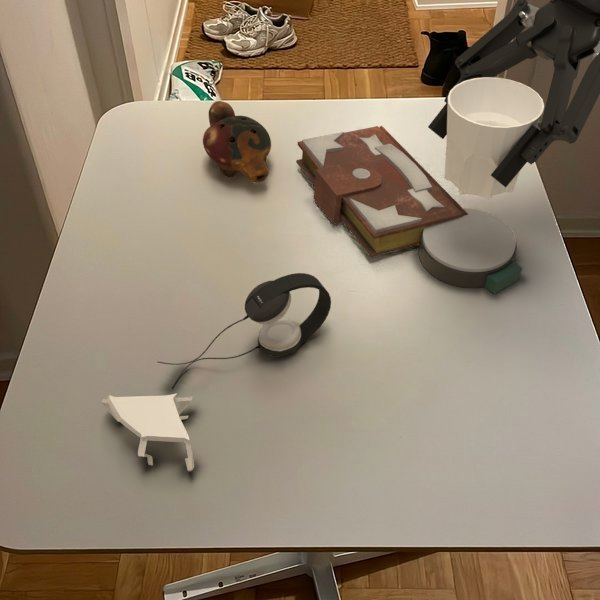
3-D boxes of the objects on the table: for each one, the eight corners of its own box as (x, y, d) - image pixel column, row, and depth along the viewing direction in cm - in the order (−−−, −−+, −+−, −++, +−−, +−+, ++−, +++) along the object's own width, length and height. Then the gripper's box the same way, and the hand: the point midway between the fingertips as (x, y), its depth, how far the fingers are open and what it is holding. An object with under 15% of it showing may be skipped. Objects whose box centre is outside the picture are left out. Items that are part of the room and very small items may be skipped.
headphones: (173, 390, 84) (322, 305, 88) (188, 417, 82) (341, 329, 85) (144, 341, 77) (308, 251, 80) (159, 370, 74) (329, 275, 78)
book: (464, 237, 99) (472, 207, 96) (363, 264, 94) (368, 233, 90) (381, 148, 114) (385, 119, 110) (289, 167, 109) (291, 137, 105)
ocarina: (239, 132, 116) (239, 87, 110) (292, 185, 108) (295, 139, 102) (184, 150, 112) (181, 104, 106) (235, 206, 104) (235, 160, 98)
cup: (447, 145, 90) (458, 71, 83) (530, 160, 88) (549, 85, 81) (428, 193, 84) (439, 117, 77) (517, 211, 81) (537, 134, 74)
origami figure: (221, 416, 79) (216, 388, 75) (193, 483, 73) (187, 457, 70) (118, 393, 81) (109, 365, 77) (83, 457, 75) (71, 430, 72)
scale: (539, 267, 94) (545, 248, 91) (471, 307, 89) (475, 289, 87) (466, 213, 101) (469, 196, 99) (399, 249, 96) (401, 231, 94)
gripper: (707, 43, 72) (550, 222, 78) (542, -36, 85) (420, 122, 91) (690, 3, 66) (522, 199, 72) (516, -75, 80) (388, 96, 86)
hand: (465, 156), depth 82 cm, fingers closed on cup, 10 cm apart
